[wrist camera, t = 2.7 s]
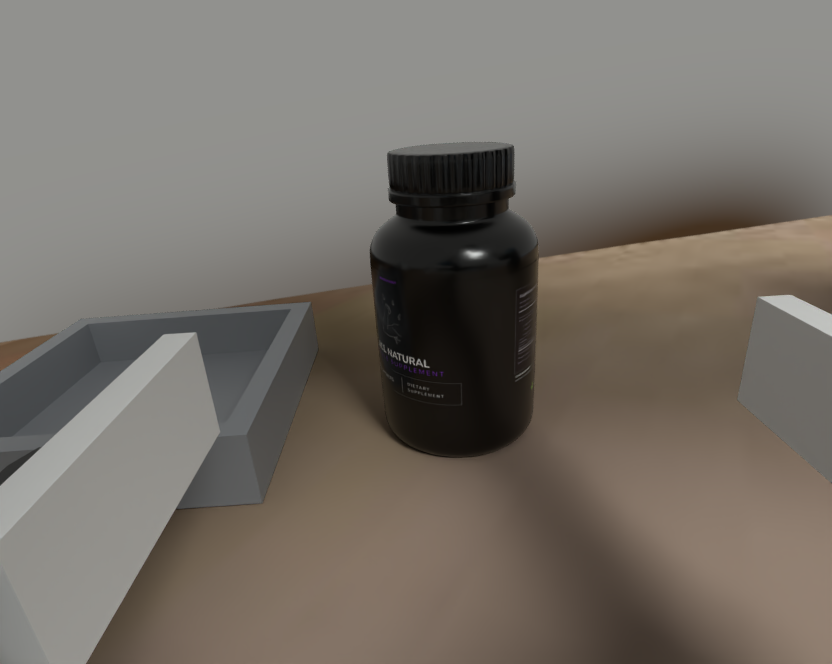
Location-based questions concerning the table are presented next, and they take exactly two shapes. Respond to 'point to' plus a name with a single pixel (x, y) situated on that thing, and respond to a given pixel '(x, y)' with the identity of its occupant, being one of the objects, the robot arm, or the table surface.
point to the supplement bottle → (455, 300)
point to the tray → (226, 372)
